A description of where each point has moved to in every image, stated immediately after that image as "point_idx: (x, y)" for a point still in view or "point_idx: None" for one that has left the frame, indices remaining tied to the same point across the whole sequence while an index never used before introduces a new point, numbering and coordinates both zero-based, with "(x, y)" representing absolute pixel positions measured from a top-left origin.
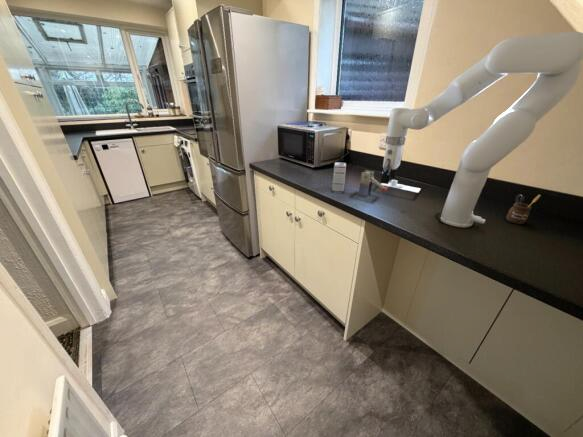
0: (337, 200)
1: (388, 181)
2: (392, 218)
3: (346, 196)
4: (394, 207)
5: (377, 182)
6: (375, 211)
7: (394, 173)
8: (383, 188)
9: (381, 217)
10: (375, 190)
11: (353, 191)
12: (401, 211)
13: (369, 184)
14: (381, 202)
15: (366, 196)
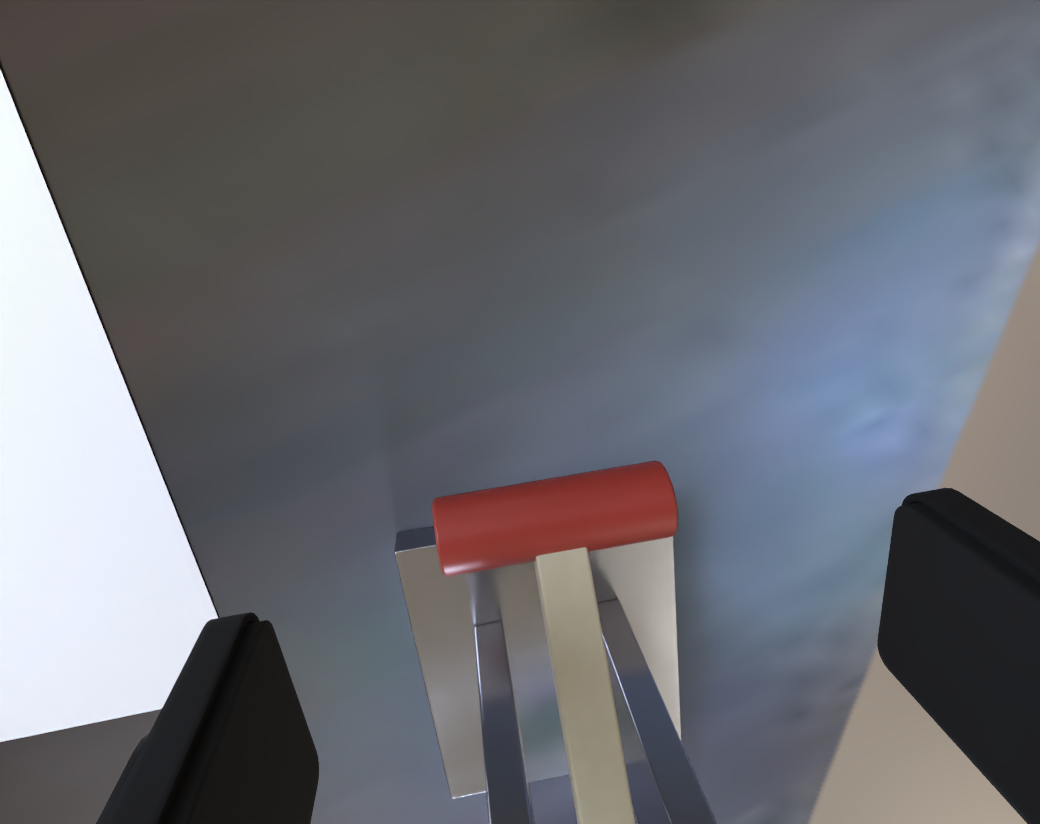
0: (836, 745)
1: (1006, 522)
2: (970, 42)
3: None
4: (580, 188)
5: (617, 734)
6: (879, 324)
7: (219, 779)
8: (661, 526)
9: (1012, 179)
10: None
11: (468, 801)
12: (653, 32)
13: (678, 771)
14: (542, 411)
15: (624, 615)
